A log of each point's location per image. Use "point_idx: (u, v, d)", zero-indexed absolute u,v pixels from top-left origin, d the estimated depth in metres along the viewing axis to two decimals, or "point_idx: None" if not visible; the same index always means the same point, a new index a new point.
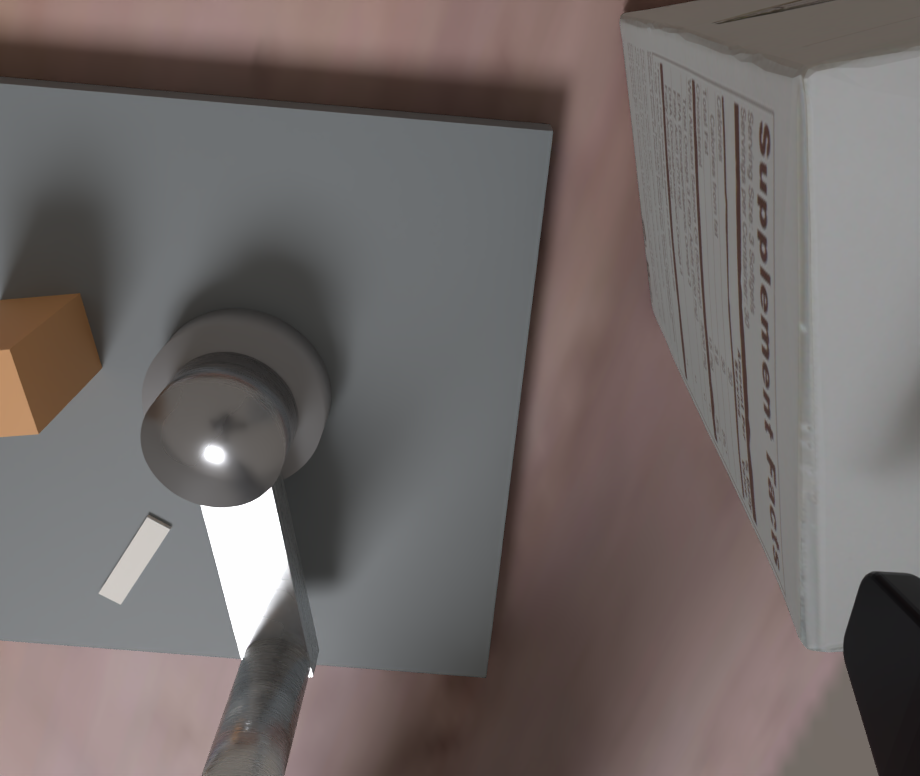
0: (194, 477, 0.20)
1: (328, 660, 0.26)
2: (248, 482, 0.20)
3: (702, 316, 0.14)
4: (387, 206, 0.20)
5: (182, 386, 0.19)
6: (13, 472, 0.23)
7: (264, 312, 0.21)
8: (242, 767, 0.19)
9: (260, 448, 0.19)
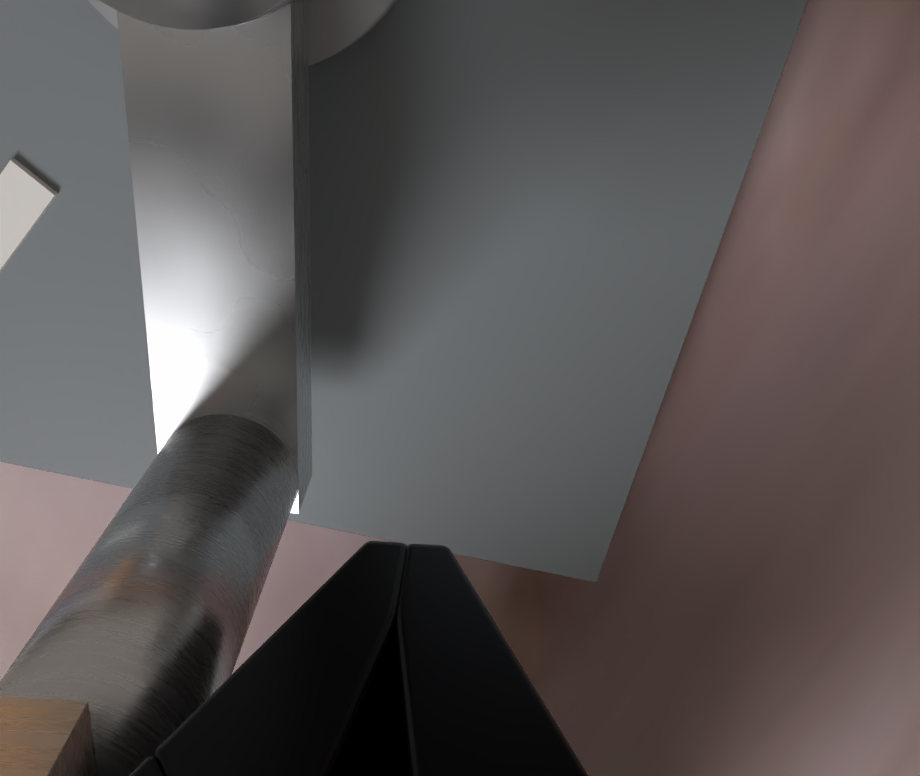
0: None
1: (320, 516, 0.14)
2: None
3: None
4: None
5: None
6: None
7: None
8: (128, 639, 0.07)
9: None
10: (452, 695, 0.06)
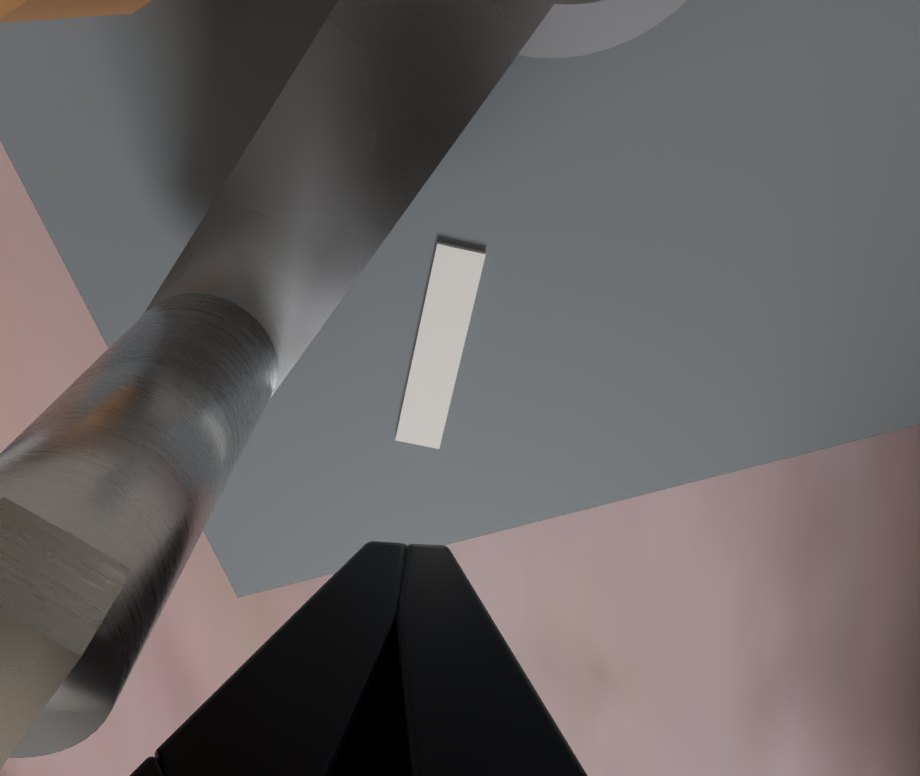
0: None
1: (839, 433, 0.13)
2: None
3: None
4: None
5: None
6: (178, 247, 0.12)
7: None
8: (140, 508, 0.07)
9: None
10: (451, 695, 0.06)
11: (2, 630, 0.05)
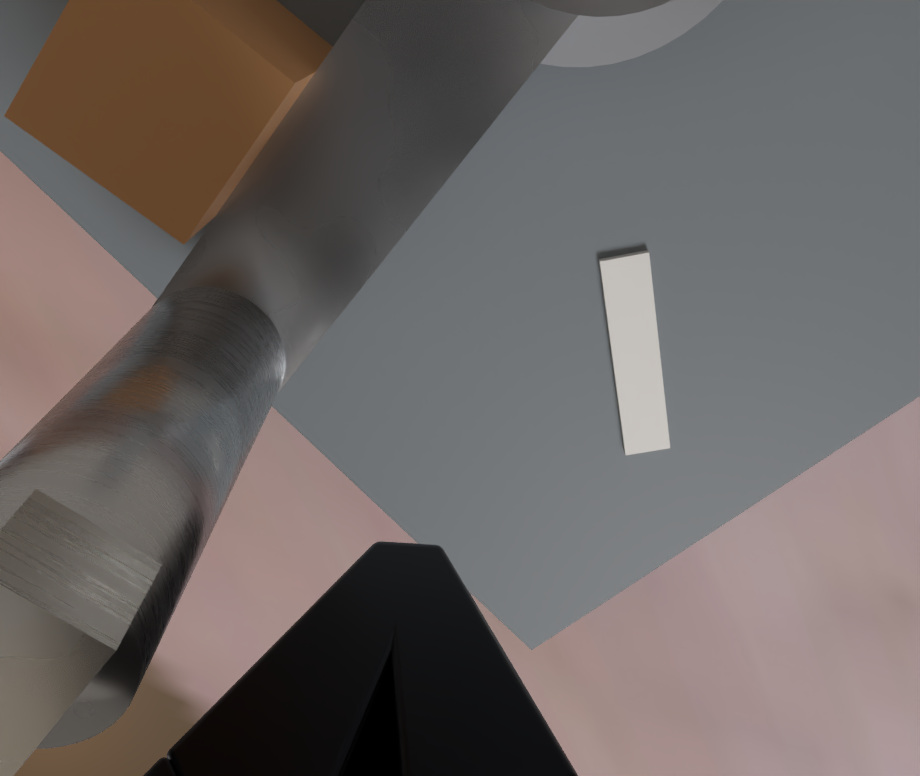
0: None
1: None
2: None
3: None
4: None
5: None
6: (369, 359, 0.13)
7: None
8: (160, 501, 0.07)
9: None
10: (442, 694, 0.06)
11: (38, 623, 0.05)
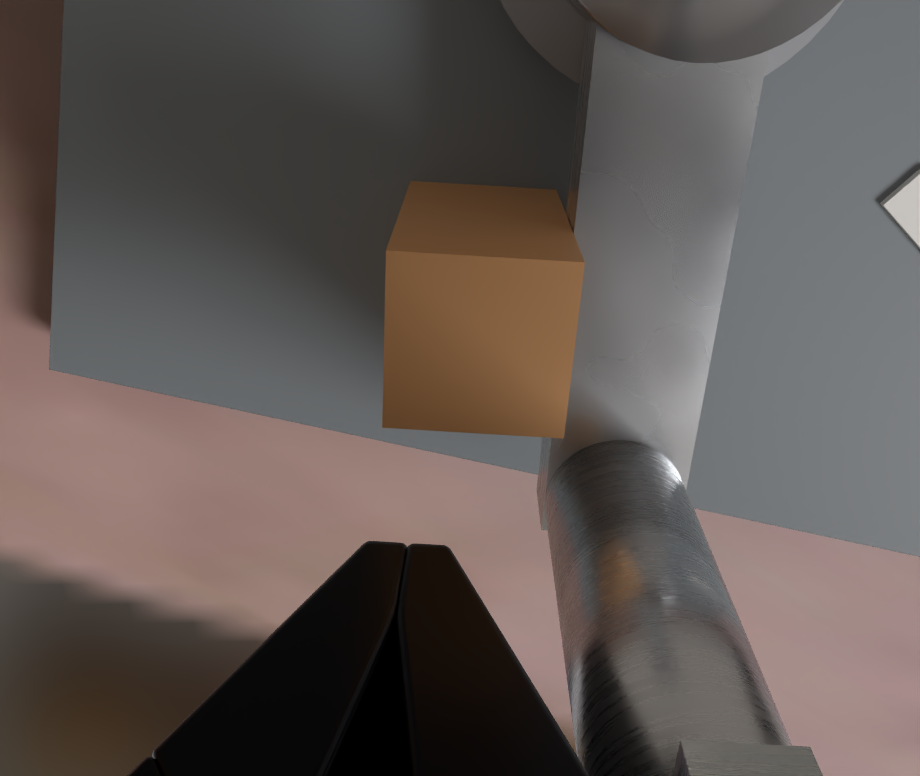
0: None
1: None
2: None
3: None
4: None
5: None
6: (717, 414, 0.13)
7: None
8: (730, 678, 0.07)
9: None
10: (453, 695, 0.06)
11: None
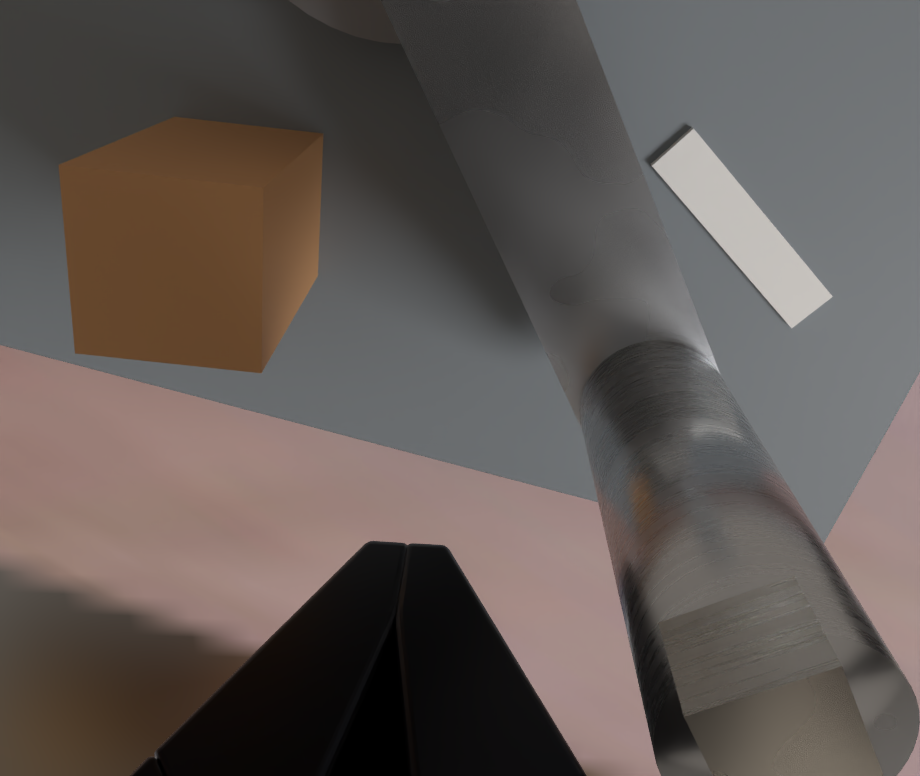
0: None
1: None
2: None
3: None
4: None
5: None
6: (500, 375, 0.13)
7: None
8: (741, 536, 0.07)
9: None
10: (451, 695, 0.06)
11: (770, 703, 0.05)
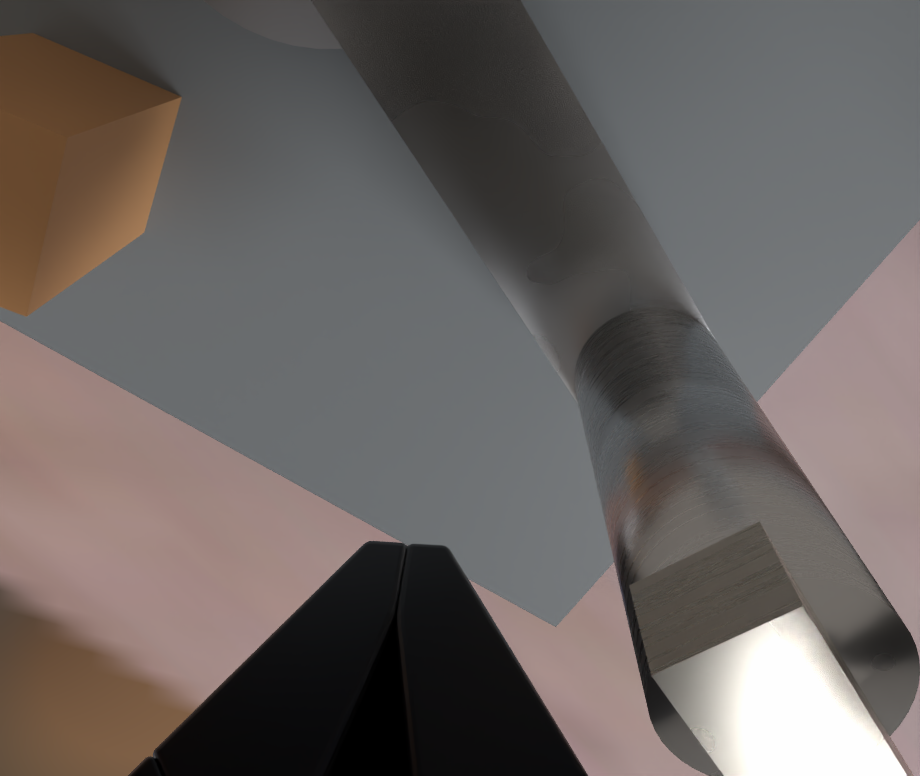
0: None
1: None
2: None
3: None
4: None
5: None
6: (302, 379, 0.13)
7: None
8: (721, 490, 0.07)
9: None
10: (452, 695, 0.06)
11: (738, 652, 0.05)
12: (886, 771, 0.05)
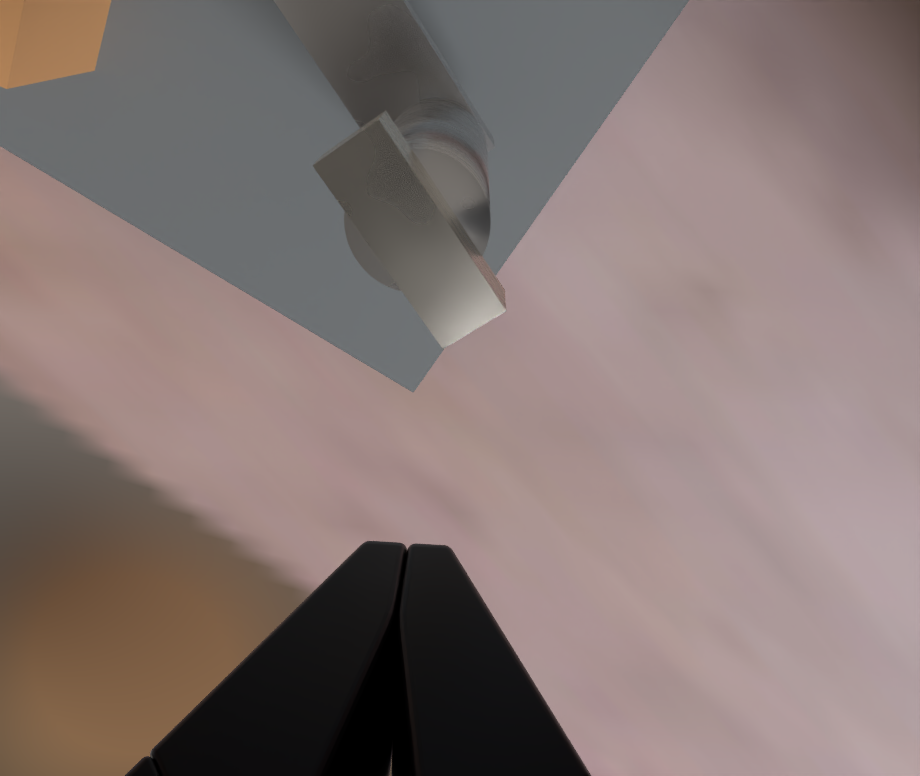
0: None
1: None
2: None
3: None
4: None
5: None
6: (213, 186, 0.18)
7: None
8: (403, 136, 0.11)
9: None
10: (455, 695, 0.06)
11: (353, 151, 0.10)
12: (443, 230, 0.10)
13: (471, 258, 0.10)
